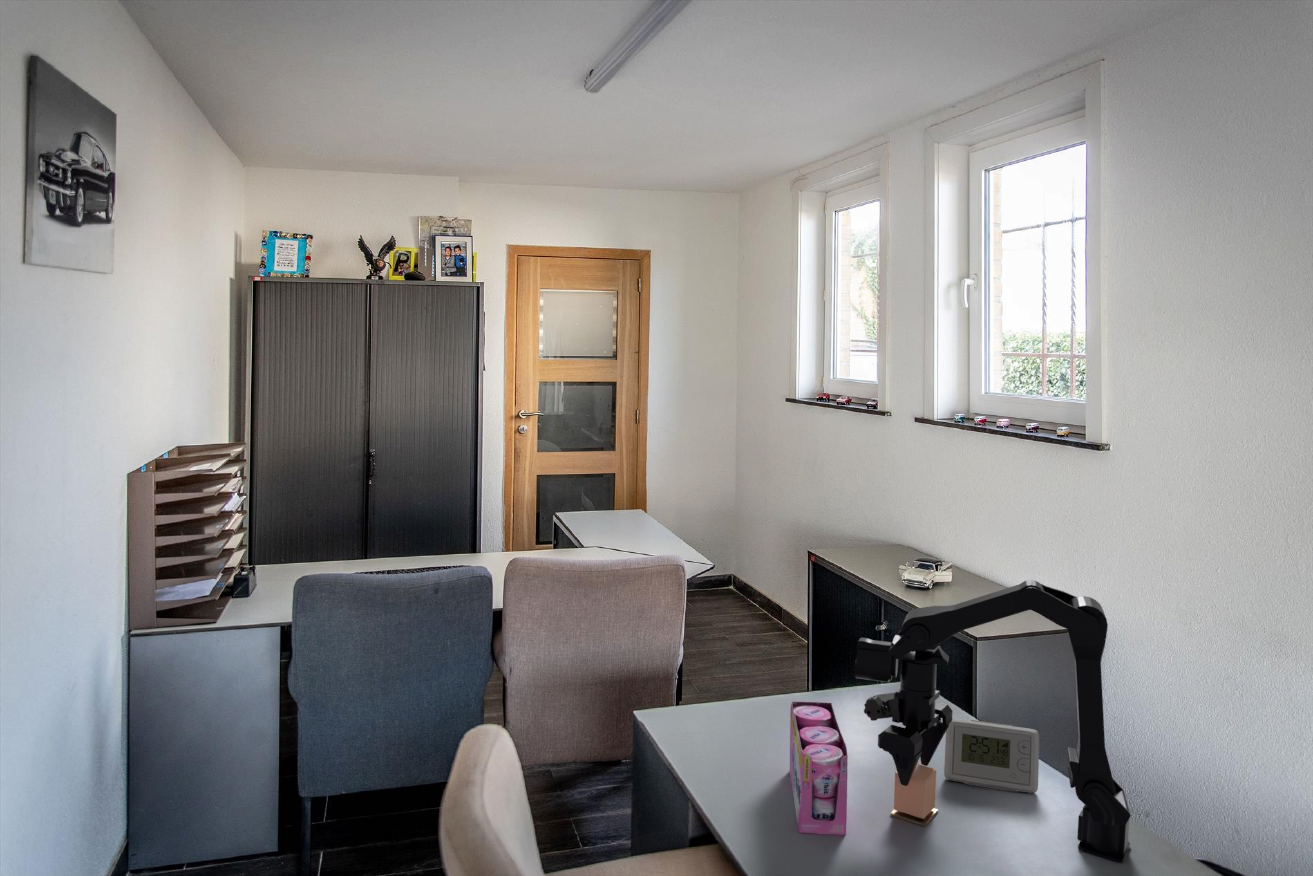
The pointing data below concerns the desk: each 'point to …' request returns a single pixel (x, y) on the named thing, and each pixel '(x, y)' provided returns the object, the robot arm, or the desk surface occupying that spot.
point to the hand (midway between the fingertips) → (914, 774)
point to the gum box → (818, 768)
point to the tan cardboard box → (916, 792)
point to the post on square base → (915, 819)
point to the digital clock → (992, 755)
